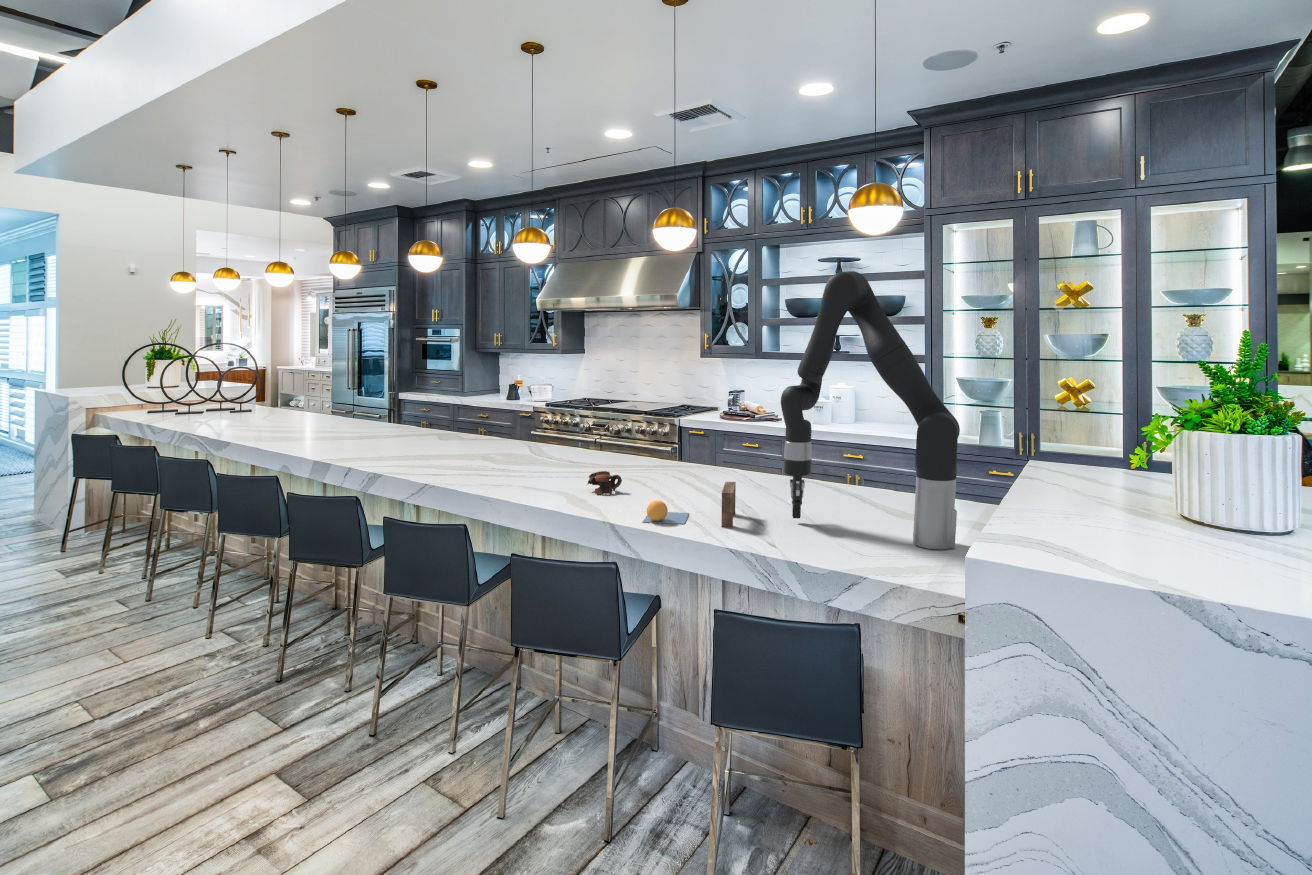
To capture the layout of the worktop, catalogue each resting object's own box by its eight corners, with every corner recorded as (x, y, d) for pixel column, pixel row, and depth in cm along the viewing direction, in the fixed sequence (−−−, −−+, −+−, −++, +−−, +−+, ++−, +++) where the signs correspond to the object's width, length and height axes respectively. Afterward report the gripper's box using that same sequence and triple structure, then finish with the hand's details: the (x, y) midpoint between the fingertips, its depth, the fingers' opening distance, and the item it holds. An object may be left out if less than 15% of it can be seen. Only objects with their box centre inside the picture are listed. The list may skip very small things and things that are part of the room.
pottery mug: (587, 497, 229) (583, 473, 231) (594, 503, 237) (591, 480, 240) (621, 488, 227) (617, 465, 230) (628, 495, 236) (623, 472, 239)
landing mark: (689, 513, 204) (689, 512, 204) (684, 524, 192) (684, 523, 192) (649, 512, 206) (649, 511, 206) (642, 522, 194) (642, 521, 194)
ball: (671, 503, 197) (653, 494, 198) (669, 509, 192) (650, 500, 192) (663, 520, 199) (644, 512, 199) (661, 527, 193) (641, 518, 193)
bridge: (735, 513, 203) (735, 481, 202) (732, 527, 188) (732, 493, 187) (725, 513, 204) (725, 481, 202) (721, 527, 189) (721, 492, 188)
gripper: (813, 461, 183) (811, 524, 186) (810, 453, 196) (808, 512, 198) (784, 460, 184) (783, 523, 187) (783, 452, 197) (782, 511, 200)
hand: (796, 517), depth 193 cm, fingers closed
